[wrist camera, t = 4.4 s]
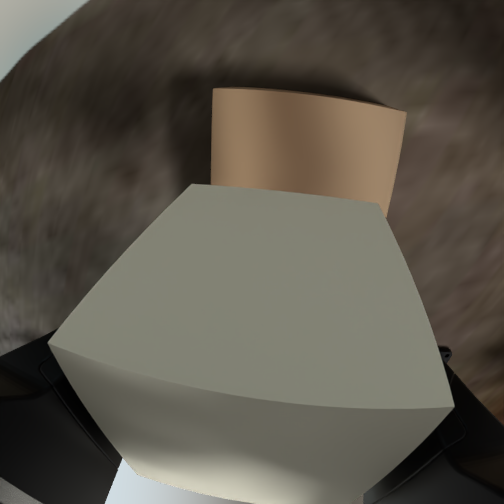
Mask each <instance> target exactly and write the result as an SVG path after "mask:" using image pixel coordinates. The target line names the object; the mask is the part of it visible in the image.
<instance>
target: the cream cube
mask: <svg viewBox="0 0 504 504" xmlns="http://www.w3.org/2000/svg"><path fill="white" fill-rule="evenodd" d="M48 345H49V347H50V349H51V351H52V352H53V354H54V356H55V358H56V360H57V362H58V363H59V365H60V367H61V369H62V370H63V372H64V374H65V376H66V377H67V379H68V381H69V382H70V384H71V386H72V387H73V389H74V390H75V392H76V394H77V395H78V397H79V398H80V400H81V401H82V403H83V404H84V406H85V407H86V409H87V410H88V412H89V413H90V415H91V416H92V418H93V419H94V420H95V422H96V423H97V425H98V426H99V427H100V429H101V430H102V432H103V433H104V434H105V436H106V437H107V438H108V440H109V441H110V442H111V444H112V445H113V446H114V447H115V449H116V450H117V451H118V452H119V454H120V455H121V456H122V457H123V459H124V460H125V461H126V462H127V463H128V465H129V466H130V467H131V468H132V469H133V470H134V471H135V473H136V474H137V475H140V476H143V477H145V478H148V479H152V480H155V481H158V482H161V483H164V484H168V485H171V486H174V487H178V488H182V489H186V490H190V491H194V492H197V493H202V494H206V495H210V496H216V497H220V498H225V499H230V500H236V501H242V502H248V503H255V504H351V503H352V502H353V501H355V500H356V499H357V498H358V497H360V496H361V495H362V494H364V493H365V492H366V491H368V490H369V489H370V488H372V487H373V486H374V485H375V484H376V483H378V482H379V481H380V480H381V479H383V478H384V477H385V476H386V475H387V474H388V473H390V472H391V471H392V470H393V469H394V468H395V467H396V466H397V465H399V464H400V463H401V462H402V461H403V460H404V459H405V458H406V457H407V456H408V455H409V454H410V453H412V452H413V451H414V450H415V449H416V448H417V447H418V446H419V445H420V444H421V443H422V442H423V441H424V440H425V439H426V438H427V437H428V436H429V435H430V433H431V432H432V431H433V430H434V429H435V428H436V427H437V426H438V425H439V424H440V423H441V422H442V421H443V419H444V418H445V417H446V416H447V415H448V414H449V413H450V411H451V410H452V409H453V408H454V407H455V406H454V402H453V398H452V394H451V390H450V386H449V383H448V379H447V376H446V372H445V369H444V365H443V362H442V359H441V356H440V352H439V349H438V346H437V343H436V340H435V337H434V334H433V331H432V328H431V326H430V323H429V320H428V317H427V314H426V312H425V309H424V306H423V304H422V301H421V298H420V296H419V293H418V291H417V288H416V286H415V283H414V281H413V278H412V276H411V273H410V271H409V269H408V266H407V264H406V262H405V259H404V257H403V255H402V253H401V250H400V248H399V246H398V244H397V241H396V239H395V237H394V235H393V233H392V231H391V229H390V227H389V224H388V222H387V220H386V218H385V216H384V214H383V212H382V210H381V208H380V206H379V204H378V203H372V202H365V201H358V200H351V199H343V198H336V197H328V196H320V195H311V194H303V193H294V192H284V191H275V190H264V189H254V188H242V187H230V186H217V185H202V184H191V185H190V186H189V187H188V188H187V189H186V190H185V191H184V192H183V193H182V194H181V195H180V196H179V197H178V198H177V199H176V200H175V201H174V202H173V203H172V204H171V205H169V206H168V207H167V208H166V209H165V210H164V211H163V212H162V213H161V214H160V215H159V216H158V218H157V219H156V220H155V221H154V222H153V223H152V224H151V225H150V226H149V227H148V228H147V229H146V230H145V231H144V232H143V233H142V234H141V235H140V236H139V237H138V238H137V239H136V240H135V241H134V242H133V243H132V244H131V246H130V247H129V248H128V249H127V250H126V251H125V252H124V253H123V254H122V255H121V256H120V257H119V259H118V260H117V261H116V262H115V263H114V264H113V265H112V266H111V267H110V268H109V270H108V271H107V272H106V273H105V274H104V275H103V276H102V277H101V279H100V280H99V281H98V282H97V283H96V284H95V285H94V287H93V288H92V289H91V290H90V291H89V292H88V294H87V295H86V296H85V297H84V298H83V299H82V301H81V302H80V303H79V304H78V305H77V307H76V308H75V309H74V310H73V311H72V313H71V314H70V315H69V316H68V318H67V319H66V320H65V321H64V322H63V324H62V325H61V326H60V327H59V329H58V330H57V331H56V333H55V334H54V335H53V336H52V338H51V339H50V340H49V341H48Z"/></svg>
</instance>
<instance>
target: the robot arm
mask: <svg viewBox="0 0 504 504" xmlns="http://www.w3.org/2000/svg"><path fill="white" fill-rule="evenodd" d="M58 329H59V328H58ZM58 329H56V330H54V331H52V332H50V333H48V334H46V335H44V336H42V337H40V338H38V339H36V340H34V341H32V342H30V343H28V344H26V345H23V346H21V347H19V348H17V349H15V350H13V351H10V352H8V353H6V354H4V355H2V356H0V504H105V501H106V499H107V496H108V493H109V491H110V488H111V486H112V483H113V481H114V478H115V476H116V473H117V471H118V469H117V468H119V466H120V463H121V461H122V458H123V457H122V456H121V455H120V454H119V452H118V451H117V450H116V449H115V447H114V446H113V445H112V444H111V442H110V441H109V440H108V438H107V437H106V436H105V434H104V433H103V432H102V430H101V429H100V427H99V426H98V425H97V423H96V422H95V420H94V419H93V418H92V416H91V415H90V413H89V412H88V410H87V409H86V407H85V406H84V404H83V403H82V401H81V400H80V398H79V397H78V395H77V394H76V392H75V390H74V389H73V387H72V386H71V384H70V382H69V381H68V379H67V377H66V376H65V374H64V372H63V370H62V369H61V367H60V365H59V363H58V362H57V360H56V358H55V356H54V354H53V352H52V351H51V349H50V347H49V345H48V341H49V340H50V339H51V338H52V336H53V335H54V334H55V333H56V331H57V330H58ZM439 352H440V356H441V359H442V362H443V365H444V369H445V372H446V376H447V379H448V383H449V386H450V390H451V394H452V398H453V402H454V406H455V407H454V408H453V409H452V410H451V411H450V413H449V414H448V415H447V416H446V417H445V418H444V419H443V421H442V422H441V423H440V424H439V425H438V426H437V427H436V428H435V429H434V430H433V431H432V432H431V433H430V435H429V436H428V437H427V438H426V439H425V440H424V441H423V442H422V443H421V444H420V445H419V446H418V447H417V448H416V449H415V450H414V451H413V452H412V453H410V454H409V455H408V456H407V457H406V458H405V459H404V460H403V461H402V462H401V463H400V464H399V465H397V466H396V467H395V468H394V469H393V470H392V471H391V472H390V473H388V474H387V475H386V476H385V477H384V478H383V479H381V480H380V481H379V482H378V483H376V484H375V485H374V486H373V487H372V488H370V489H369V490H368V491H366V492H365V493H364V499H363V501H364V502H363V504H504V426H503V425H502V423H501V422H500V421H499V420H498V419H497V418H496V417H495V416H494V415H493V414H492V413H491V412H490V411H489V410H488V409H487V408H486V407H485V406H484V405H483V404H482V403H481V402H480V401H479V400H478V399H477V398H476V397H475V396H474V394H473V393H472V392H471V391H470V390H469V389H468V388H467V386H466V385H465V384H464V383H463V382H462V381H461V380H460V378H459V377H458V376H457V375H456V374H454V372H453V370H452V369H451V368H450V367H449V366H448V365H447V362H448V360H449V359H450V357H451V356H452V352H451V350H450V349H439Z"/></svg>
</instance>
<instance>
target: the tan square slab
mask: <svg viewBox="0 0 504 504" xmlns="http://www.w3.org/2000/svg"><path fill="white" fill-rule="evenodd" d="M406 114H407V112H404V111H401V110H398V109H395V108H392V107H389V106H386V105H381V104H376V103H371V102H366V101H361V100H356V99H350V98H344V97H338V96H331V95H324V94H317V93H309V92H300V91H290V90H280V89H267V88H251V87H222V88H213V102H212V140H211V185H217V186H230V187H242V188H254V189H264V190H275V191H284V192H294V193H303V194H311V195H320V196H328V197H336V198H343V199H351V200H358V201H365V202H372V203H378V204H379V206H380V208H381V210H382V212H383V214H384V216H385V218H386V216H387V212H388V208H389V203H390V199H391V195H392V190H393V186H394V181H395V176H396V171H397V166H398V161H399V156H400V150H401V145H402V139H403V133H404V127H405V120H406Z"/></svg>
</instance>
